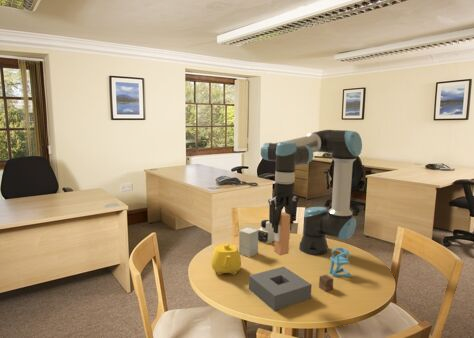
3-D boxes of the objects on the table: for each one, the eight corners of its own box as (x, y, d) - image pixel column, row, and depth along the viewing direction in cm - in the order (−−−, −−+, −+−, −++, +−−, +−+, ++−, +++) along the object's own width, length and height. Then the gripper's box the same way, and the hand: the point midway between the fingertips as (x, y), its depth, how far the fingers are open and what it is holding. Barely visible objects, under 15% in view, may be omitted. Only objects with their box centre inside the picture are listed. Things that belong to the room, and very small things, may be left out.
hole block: (283, 279, 153) (283, 266, 152) (310, 298, 137) (311, 284, 136) (248, 288, 144) (249, 275, 143) (274, 310, 128) (274, 295, 127)
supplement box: (258, 253, 180) (259, 230, 178) (249, 257, 174) (249, 233, 172) (247, 249, 185) (248, 226, 183) (238, 253, 179) (238, 230, 177)
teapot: (238, 262, 169) (239, 237, 167) (243, 282, 149) (244, 254, 147) (210, 262, 168) (210, 238, 165) (212, 283, 148) (212, 255, 146)
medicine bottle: (257, 241, 196) (257, 220, 194) (264, 237, 202) (265, 218, 200) (267, 244, 192) (268, 223, 190) (274, 240, 197) (275, 220, 195)
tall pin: (282, 250, 141) (284, 212, 138) (288, 253, 137) (290, 214, 135) (274, 251, 139) (275, 213, 136) (280, 255, 135) (282, 216, 133)
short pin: (325, 285, 148) (326, 274, 147) (332, 289, 144) (333, 278, 144) (318, 287, 146) (319, 276, 145) (325, 291, 142) (326, 280, 142)
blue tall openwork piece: (326, 270, 161) (328, 246, 159) (342, 269, 163) (344, 245, 161) (334, 278, 154) (336, 253, 152) (351, 276, 156) (353, 251, 154)
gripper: (295, 178, 141) (292, 233, 144) (260, 182, 132) (258, 239, 136) (307, 182, 134) (304, 239, 138) (272, 185, 126) (269, 246, 130)
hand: (281, 239), depth 137 cm, fingers closed on tall pin, 4 cm apart
